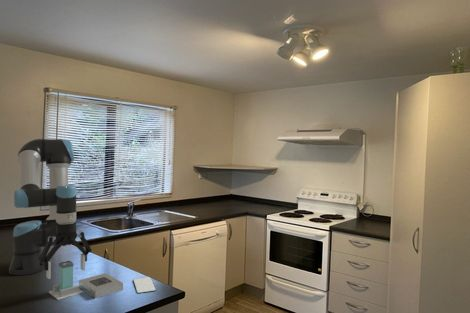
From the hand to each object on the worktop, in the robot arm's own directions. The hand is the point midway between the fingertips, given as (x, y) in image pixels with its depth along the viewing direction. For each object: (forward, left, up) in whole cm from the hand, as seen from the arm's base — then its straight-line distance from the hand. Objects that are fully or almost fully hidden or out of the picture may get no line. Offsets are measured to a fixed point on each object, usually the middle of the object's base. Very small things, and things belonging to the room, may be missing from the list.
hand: (66, 273), depth 142 cm
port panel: (+6, +12, -8) cm, 16 cm away
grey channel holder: (0, 0, -8) cm, 8 cm away
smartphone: (+16, +27, -9) cm, 32 cm away
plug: (0, 0, -8) cm, 8 cm away
